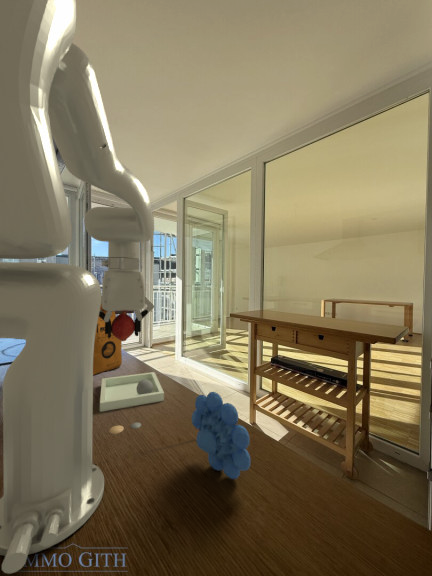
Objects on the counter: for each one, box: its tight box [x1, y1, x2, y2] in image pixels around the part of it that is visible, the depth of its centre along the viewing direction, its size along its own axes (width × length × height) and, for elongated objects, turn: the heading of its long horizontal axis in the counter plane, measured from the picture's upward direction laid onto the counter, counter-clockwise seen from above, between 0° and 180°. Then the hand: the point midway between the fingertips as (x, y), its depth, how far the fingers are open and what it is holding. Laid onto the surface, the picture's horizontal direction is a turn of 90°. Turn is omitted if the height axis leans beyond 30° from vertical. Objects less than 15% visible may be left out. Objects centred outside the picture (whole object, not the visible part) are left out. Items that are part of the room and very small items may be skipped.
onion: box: [111, 311, 135, 342], centre depth 63 cm, size 6×6×8 cm
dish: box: [99, 371, 165, 413], centre depth 62 cm, size 14×14×2 cm
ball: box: [136, 379, 153, 395], centre depth 61 cm, size 4×4×4 cm
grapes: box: [191, 391, 252, 480], centre depth 38 cm, size 12×7×12 cm, turn 49°
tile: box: [108, 422, 142, 435], centre depth 48 cm, size 6×8×1 cm
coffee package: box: [93, 303, 123, 376], centre depth 78 cm, size 10×12×22 cm
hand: (123, 335), depth 63 cm, fingers closed on onion, 5 cm apart
